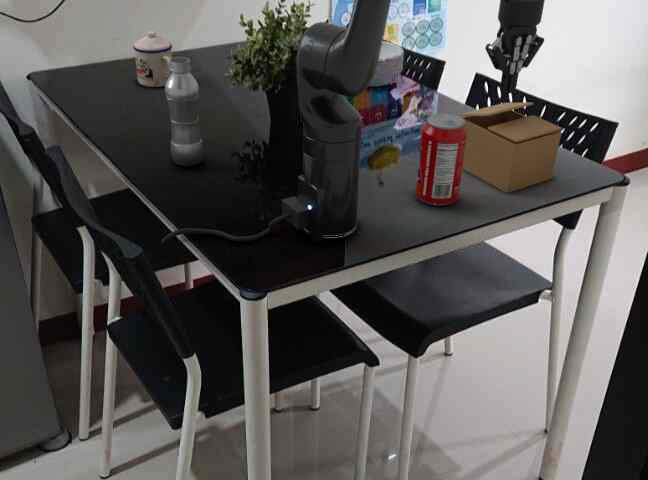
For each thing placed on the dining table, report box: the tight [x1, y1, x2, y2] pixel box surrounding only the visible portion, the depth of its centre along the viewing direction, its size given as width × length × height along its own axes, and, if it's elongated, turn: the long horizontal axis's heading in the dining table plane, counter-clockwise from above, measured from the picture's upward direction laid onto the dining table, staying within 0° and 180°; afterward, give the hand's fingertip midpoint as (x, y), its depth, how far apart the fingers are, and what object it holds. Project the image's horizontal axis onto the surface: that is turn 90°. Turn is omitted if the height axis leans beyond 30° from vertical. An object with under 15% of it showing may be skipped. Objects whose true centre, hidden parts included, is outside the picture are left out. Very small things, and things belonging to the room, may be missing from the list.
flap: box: [460, 101, 534, 117], centre depth 149 cm, size 7×12×1 cm, turn 123°
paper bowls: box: [368, 40, 405, 88], centre depth 192 cm, size 15×15×8 cm
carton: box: [461, 110, 563, 194], centre depth 150 cm, size 15×12×10 cm
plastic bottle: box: [164, 56, 205, 167], centre depth 147 cm, size 6×7×20 cm
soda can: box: [415, 113, 467, 207], centre depth 138 cm, size 8×8×15 cm
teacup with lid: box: [132, 31, 173, 88], centre depth 185 cm, size 12×9×12 cm
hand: (507, 91), depth 145 cm, fingers closed
